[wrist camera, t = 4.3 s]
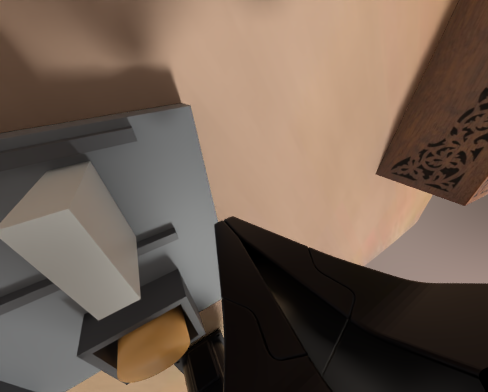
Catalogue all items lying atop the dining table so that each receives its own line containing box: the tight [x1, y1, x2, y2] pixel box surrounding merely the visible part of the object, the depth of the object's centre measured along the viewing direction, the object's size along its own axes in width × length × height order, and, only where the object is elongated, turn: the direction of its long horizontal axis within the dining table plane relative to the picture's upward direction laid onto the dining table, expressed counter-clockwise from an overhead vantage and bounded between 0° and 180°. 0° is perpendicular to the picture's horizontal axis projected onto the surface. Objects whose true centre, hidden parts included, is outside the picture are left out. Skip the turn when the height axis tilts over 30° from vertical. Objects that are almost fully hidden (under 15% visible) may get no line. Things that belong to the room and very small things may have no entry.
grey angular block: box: [0, 161, 141, 321], centre depth 8 cm, size 5×2×4 cm, turn 8°
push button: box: [117, 304, 190, 383], centre depth 13 cm, size 4×4×3 cm
